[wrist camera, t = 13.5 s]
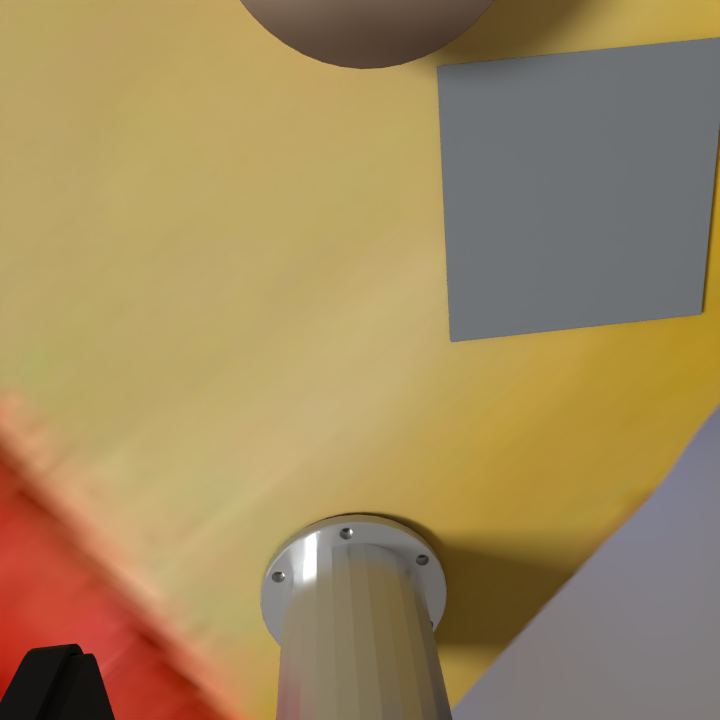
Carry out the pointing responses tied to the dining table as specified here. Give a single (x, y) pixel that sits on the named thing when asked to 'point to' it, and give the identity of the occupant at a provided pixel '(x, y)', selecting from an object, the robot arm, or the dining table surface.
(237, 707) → the dining table surface
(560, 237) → the mat
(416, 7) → the lid
